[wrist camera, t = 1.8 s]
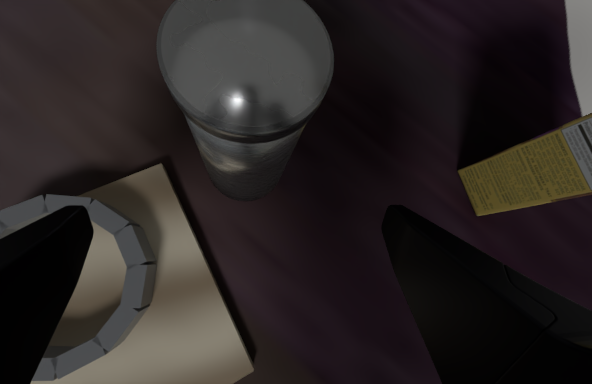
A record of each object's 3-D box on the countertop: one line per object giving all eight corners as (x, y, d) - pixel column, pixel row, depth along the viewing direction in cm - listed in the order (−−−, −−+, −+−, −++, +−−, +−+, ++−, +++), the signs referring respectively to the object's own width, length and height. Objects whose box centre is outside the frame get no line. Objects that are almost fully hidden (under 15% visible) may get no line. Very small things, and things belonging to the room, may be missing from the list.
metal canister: (296, 183, 22) (363, 93, 10) (225, 216, 20) (201, 158, 8) (263, 118, 22) (288, -43, 10) (192, 145, 21) (126, -3, 9)
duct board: (253, 364, 19) (254, 370, 18) (3, 514, 15) (-12, 531, 15) (164, 167, 20) (160, 163, 19) (-81, 264, 17) (-100, 264, 16)
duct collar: (179, 313, 18) (171, 320, 16) (10, 401, 16) (-23, 421, 14) (121, 178, 19) (107, 169, 17) (-45, 243, 17) (-83, 241, 15)
